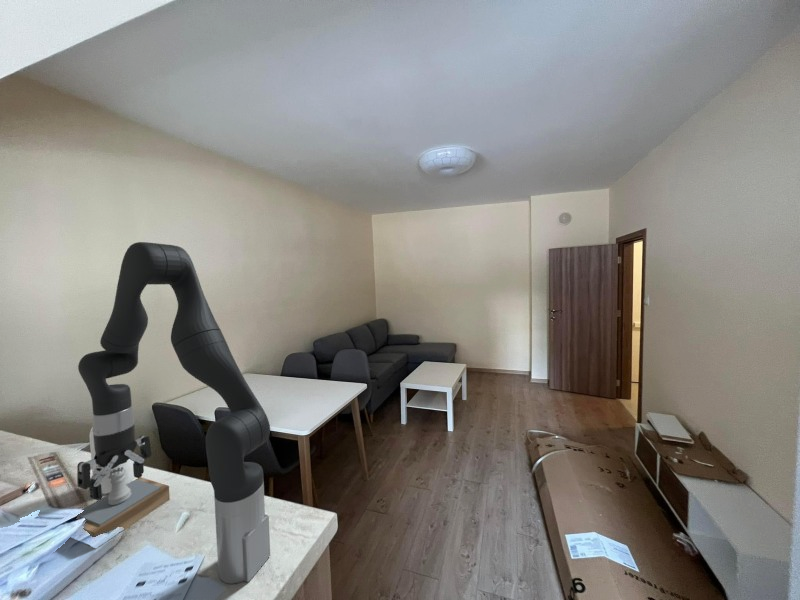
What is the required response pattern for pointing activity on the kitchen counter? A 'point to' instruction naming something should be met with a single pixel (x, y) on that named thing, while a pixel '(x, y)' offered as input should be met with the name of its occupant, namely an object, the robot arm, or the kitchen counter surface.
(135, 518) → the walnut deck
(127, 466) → the alcohol
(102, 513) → the slate mat
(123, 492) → the rook chess piece
